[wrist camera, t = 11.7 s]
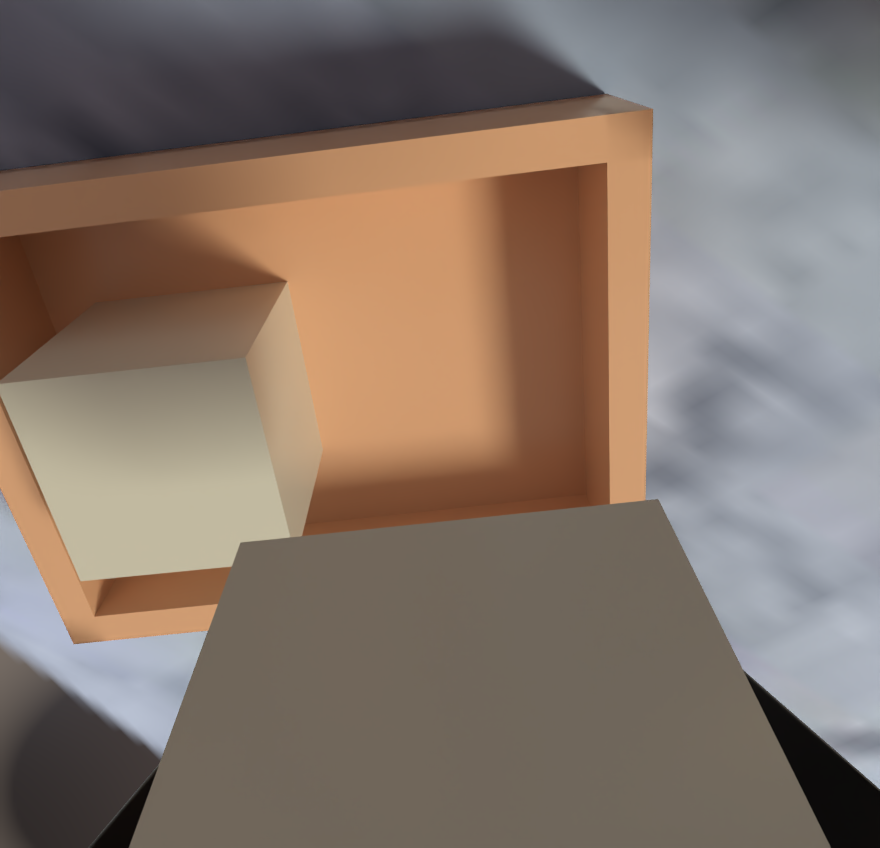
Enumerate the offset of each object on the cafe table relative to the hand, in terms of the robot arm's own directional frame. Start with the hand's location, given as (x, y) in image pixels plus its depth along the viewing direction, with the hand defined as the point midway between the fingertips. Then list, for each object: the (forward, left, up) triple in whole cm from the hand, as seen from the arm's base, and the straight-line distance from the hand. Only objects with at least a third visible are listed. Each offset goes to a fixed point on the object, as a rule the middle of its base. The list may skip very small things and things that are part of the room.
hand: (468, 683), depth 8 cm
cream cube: (+5, 0, -9) cm, 10 cm away
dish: (+3, 0, -10) cm, 10 cm away
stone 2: (0, 0, 0) cm, 0 cm away
